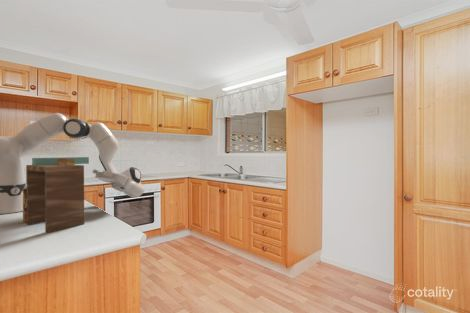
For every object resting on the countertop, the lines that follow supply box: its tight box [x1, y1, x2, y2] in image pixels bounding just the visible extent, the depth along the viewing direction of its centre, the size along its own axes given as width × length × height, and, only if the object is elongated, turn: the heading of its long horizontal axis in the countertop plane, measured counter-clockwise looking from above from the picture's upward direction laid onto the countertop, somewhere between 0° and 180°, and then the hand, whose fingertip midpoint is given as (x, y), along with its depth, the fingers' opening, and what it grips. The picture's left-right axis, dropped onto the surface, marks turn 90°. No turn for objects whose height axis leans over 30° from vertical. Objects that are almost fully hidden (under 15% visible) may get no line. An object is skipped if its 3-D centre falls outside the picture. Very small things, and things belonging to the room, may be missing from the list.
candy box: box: [22, 188, 27, 223], centre depth 115 cm, size 9×4×15 cm, turn 123°
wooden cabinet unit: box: [25, 157, 85, 233], centre depth 109 cm, size 20×14×29 cm
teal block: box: [31, 156, 90, 166], centre depth 115 cm, size 3×22×3 cm, turn 148°
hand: (98, 171), depth 130 cm, fingers open, 8 cm apart
